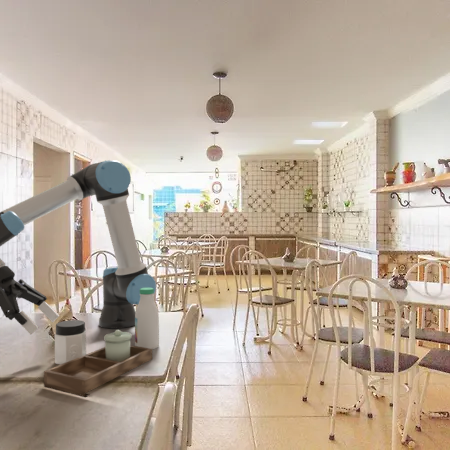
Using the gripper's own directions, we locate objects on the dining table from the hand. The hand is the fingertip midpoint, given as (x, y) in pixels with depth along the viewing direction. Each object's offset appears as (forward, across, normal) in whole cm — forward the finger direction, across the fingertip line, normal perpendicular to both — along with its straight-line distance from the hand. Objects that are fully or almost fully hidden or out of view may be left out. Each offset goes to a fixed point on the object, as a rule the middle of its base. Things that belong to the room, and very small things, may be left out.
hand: (46, 324), depth 124 cm
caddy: (+22, +7, +5) cm, 23 cm away
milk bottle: (+27, -15, +11) cm, 33 cm away
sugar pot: (+23, +1, +8) cm, 24 cm away
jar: (+13, -1, -3) cm, 14 cm away
